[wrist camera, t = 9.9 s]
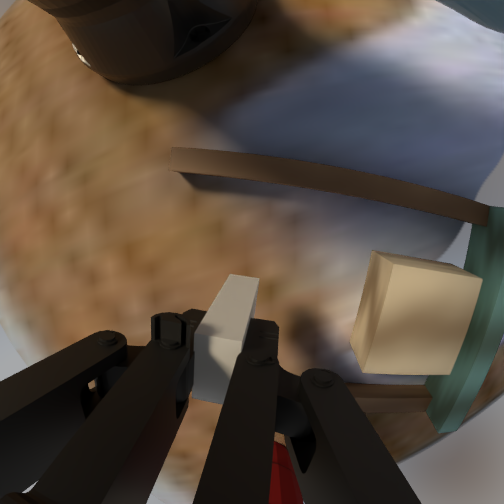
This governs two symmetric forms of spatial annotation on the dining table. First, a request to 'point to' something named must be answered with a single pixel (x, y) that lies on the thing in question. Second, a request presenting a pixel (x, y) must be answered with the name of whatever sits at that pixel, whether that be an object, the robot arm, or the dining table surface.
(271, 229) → the dining table surface
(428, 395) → the guide track
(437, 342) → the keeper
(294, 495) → the plastic cup
